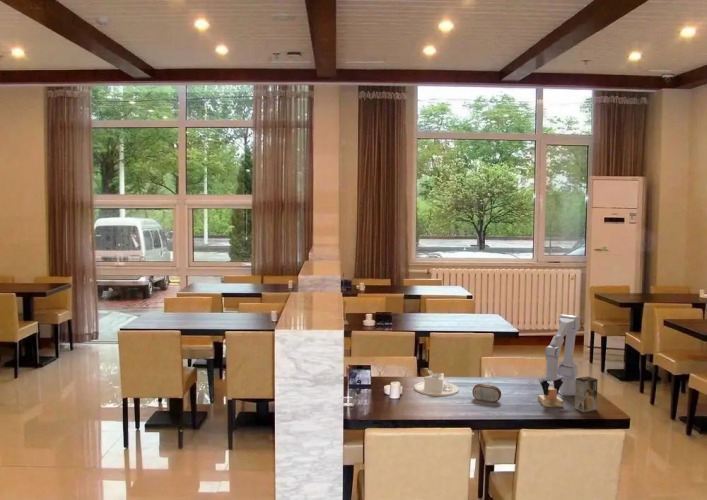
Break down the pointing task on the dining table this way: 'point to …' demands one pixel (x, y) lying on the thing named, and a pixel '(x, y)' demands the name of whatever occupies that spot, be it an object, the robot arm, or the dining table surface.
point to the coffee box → (586, 394)
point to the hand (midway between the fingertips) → (550, 394)
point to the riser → (550, 401)
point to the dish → (436, 386)
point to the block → (551, 393)
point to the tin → (486, 393)
